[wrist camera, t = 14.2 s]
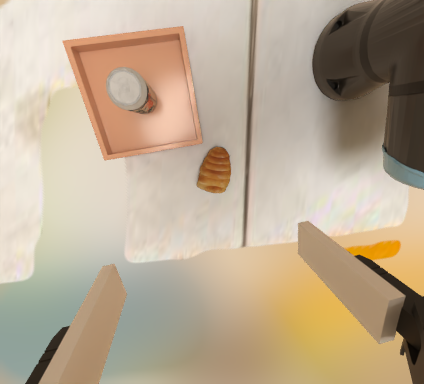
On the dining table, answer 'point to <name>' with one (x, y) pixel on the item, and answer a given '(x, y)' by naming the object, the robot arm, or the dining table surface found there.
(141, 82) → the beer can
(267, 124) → the dining table surface
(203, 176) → the pastry
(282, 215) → the dining table surface
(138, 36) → the terracotta dish
